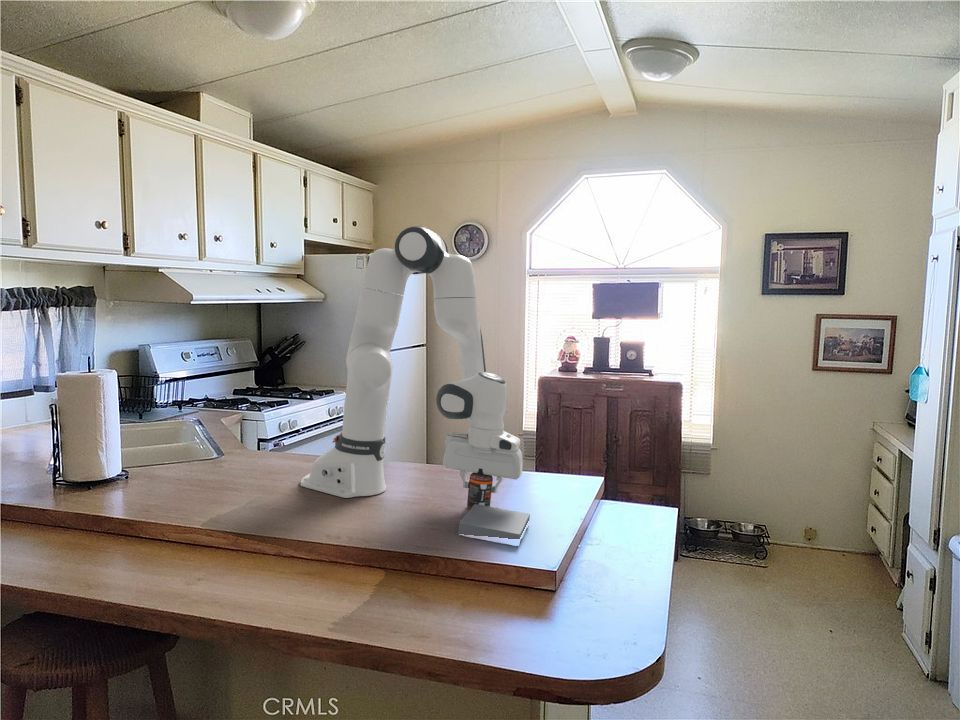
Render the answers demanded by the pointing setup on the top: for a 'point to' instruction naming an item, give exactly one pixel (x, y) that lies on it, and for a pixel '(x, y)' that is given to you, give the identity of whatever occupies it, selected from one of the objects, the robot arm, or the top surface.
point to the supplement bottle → (479, 489)
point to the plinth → (493, 522)
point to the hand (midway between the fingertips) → (480, 489)
